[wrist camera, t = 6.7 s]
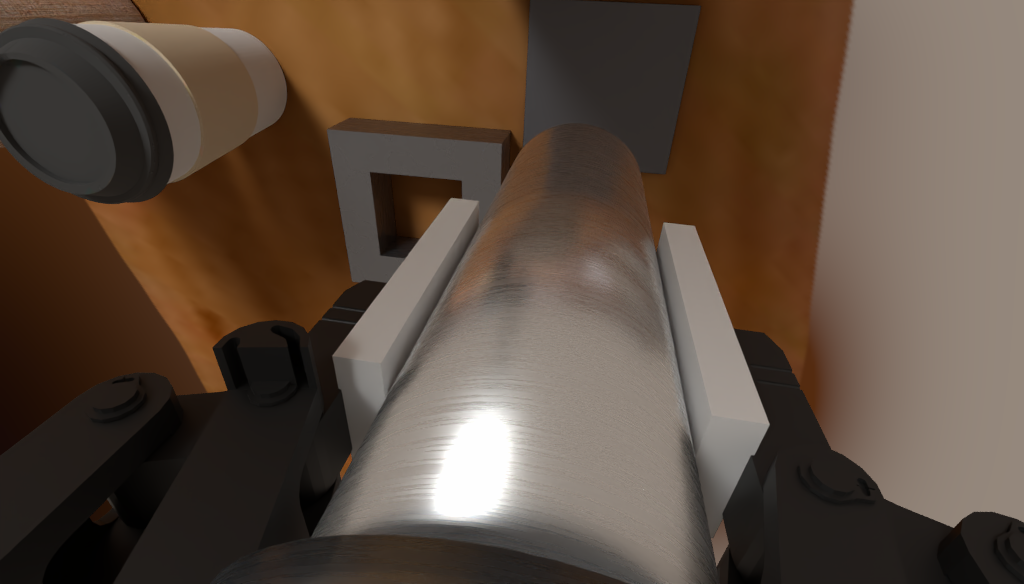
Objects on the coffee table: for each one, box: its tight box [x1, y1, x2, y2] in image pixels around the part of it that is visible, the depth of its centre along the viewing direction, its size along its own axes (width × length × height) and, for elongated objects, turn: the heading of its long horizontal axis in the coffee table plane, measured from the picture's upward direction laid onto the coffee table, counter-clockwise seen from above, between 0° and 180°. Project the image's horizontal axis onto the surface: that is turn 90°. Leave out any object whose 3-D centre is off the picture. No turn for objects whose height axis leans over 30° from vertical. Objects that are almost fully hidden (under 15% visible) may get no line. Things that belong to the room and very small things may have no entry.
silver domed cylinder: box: [210, 123, 720, 584], centre depth 11 cm, size 6×6×16 cm
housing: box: [327, 118, 511, 283], centre depth 36 cm, size 12×12×4 cm
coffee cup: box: [0, 18, 287, 204], centre depth 29 cm, size 9×9×15 cm
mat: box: [523, 0, 701, 174], centre depth 31 cm, size 10×10×1 cm
